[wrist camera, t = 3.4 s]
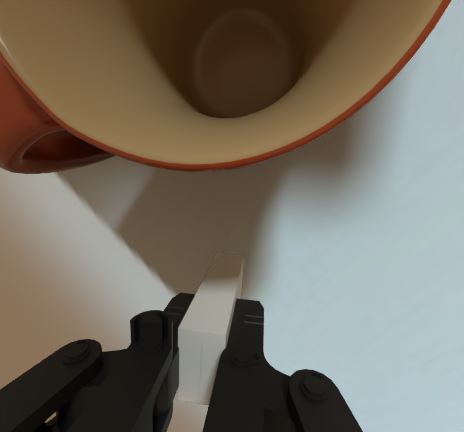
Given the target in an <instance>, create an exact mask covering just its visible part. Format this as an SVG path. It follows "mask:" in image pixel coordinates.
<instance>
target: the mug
mask: <svg viewBox="0 0 464 432" xmlns="http://www.w3.org/2000/svg"><path fill="white" fill-rule="evenodd" d="M450 2H451V0H0V167H1V168H3V169H5V170H8V171H10V172H15V173H24V174H40V173H51V172H59V171H66V170H71V169H76V168H80V167H84V166H88V165H91V164H94V163H98V162H100V161H103V160H106V159H109V158H111V157H114V156H116V155H117V156H120V157H122V158H125V159H128V160H131V161H134V162H137V163H141V164H144V165H148V166H152V167H157V168H163V169H168V170H177V171H189V172H209V171H221V170H230V169H237V168H242V167H246V166H251V165H255V164H259V163H262V162H265V161H268V160H271V159H275V158H278V157H281V156H283V155H285V154H288V153H290V152H292V151H294V150H297V149H299V148H301V147H304V146H305V145H307V144H309V143H311V142H313V141H314V140H316V139H318V138H320V137H322V136H323V135H325V134H327V133H328V132H330V131H331V130H333V129H334V128H336V127H337V126H339V125H340V124H342V123H343V122H345V121H346V120H348V119H349V118H350V117H352V116H353V115H354V114H355V113H356V112H358V111H359V110H360V109H361V108H362V107H364V106H365V105H366V104H367V103H369V102H370V101H371V100H372V99H373V98H374V97H375V96H376V95H377V94H378V93H379V92H380V91H381V90H382V89H383V88H384V87H385V86H387V85H388V84H389V83H390V82H391V81H392V80H393V79H394V77H395V76H396V75H397V74H398V73H399V72H400V71H401V69H402V68H403V67H404V66H405V65H406V64H407V63H408V61H409V60H410V59H411V58H412V57H413V56H414V54H415V53H416V52H417V50H418V49H419V48H420V46H421V45H422V44H423V42H424V41H425V39H426V38H427V37H428V35H429V34H430V33H431V31H432V30H433V29H434V27H435V26H436V24H437V23H438V21H439V19H440V18H441V16H442V15H443V13H444V11H445V10H446V8H447V7H448V5H449V3H450Z"/></svg>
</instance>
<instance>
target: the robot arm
mask: <svg viewBox="0 0 464 432" xmlns="http://www.w3.org/2000/svg"><path fill="white" fill-rule="evenodd" d="M243 263H244V255H237V254H226V253H217V254H216V256H215V258H214V260H213V262H212V264H211V266H210V268H209V269H208V271H207V273H206V275H205V277H204V279H203V281H202V283H201V285H200V287H199V289H198V291H197V293H196V295H195V294H186V293H180V294H178V295H176V296H175V297H173V298H172V299H171V301H170V302H169V304H168V305H167V307H166V308H165V310H164V311H160V310H151V311H146V312H142V313H140V314H138V315H136V316H135V317H133V318H132V319H131V320H130V327H131V344H130V346H129V347H128V348H127V349H123V350H117V351H108V352H102V348H101V344H100V343H99V342H97V341H95V340H91V339H84V340H78V341H75V342H71V343H69V344H67V345H65V346H63V347H62V348H60V349H59V350H57V351H56V352H54V353H53V354H52V355H50V356H48V357H47V358H45V359H44V360H42V361H41V362H40V363H38V364H37V365H35V366H34V367H32V368H31V369H29V370H28V371H27V372H25V373H24V374H22V375H21V376H19V377H18V378H16V379H15V380H13V381H12V382H11V383H9V384H8V385H6V386H5V387H3V388H2V389H0V432H166V431H167V428H168V426H169V423H170V420H171V417H172V412H173V399H174V396H175V394H176V391H177V389H178V400H180V401H186V402H192V403H198V404H204V405H209V407H208V411H207V415H206V420H205V424H204V428H203V432H363V431H362V429H361V428H360V426H359V424H358V422H357V421H356V419H355V417H354V416H353V414H352V412H351V410H350V409H349V407H348V405H347V403H346V402H345V400H344V398H343V396H342V395H341V393H340V391H339V389H338V388H337V387H336V385H335V384H334V383H333V382H332V380H331V379H329V378H328V377H326V376H325V375H324V374H322V373H319V372H317V371H314V370H308V369H303V370H299V371H296V372H295V373H294V374H292V375H291V377H290V376H288V375H286V374H283V373H281V372H279V371H277V370H276V369H274V368H273V367H272V366H271V365H270V364H269V363H268V362H267V361H266V359H265V357H264V352H263V335H264V308H263V306H262V305H261V303H260V302H259V301H254V300H245V299H241V293H242V278H243ZM55 412H56V416H55V417H54V418H53V419H52V420H50V421H48V422H47V423H45V421H46V420H47V419H48V418H49V417H50V416H51V415H52V414H54V413H55Z"/></svg>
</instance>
